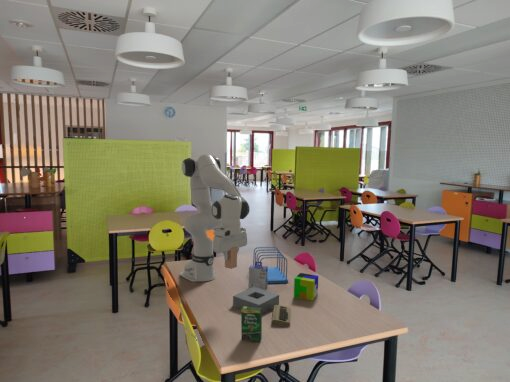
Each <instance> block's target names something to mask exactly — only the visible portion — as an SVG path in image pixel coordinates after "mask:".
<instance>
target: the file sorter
mask: <svg viewBox="0 0 510 382" xmlns="http://www.w3.org/2000/svg"><path fill="white" fill-rule="evenodd" d="M257 249H258V250H257ZM257 252H258V253H257ZM253 255H254V257H253V261H252V263H253V266H255V264H256V262H262V260H264V259H276V266H268V279H267V284H288V283H289V279H288V259H287V258H286V257H285V255H283V253H282V252H281V251H280V250H279V249H278V247H276V246H261V247H260V246H258V247H257V246H256V247H255V248H254V249H253ZM263 256H264V257H263ZM265 256H266V257H265ZM261 257H262V258H261ZM260 258H261V259H260ZM257 265H261V264H260V263H257ZM285 266H286V267H285Z"/></svg>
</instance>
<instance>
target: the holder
mask: <svg viewBox="0 0 510 382" xmlns="http://www.w3.org/2000/svg"><path fill="white" fill-rule="evenodd" d="M274 305H280V294H278V293H275V292H272V291H268V290H267V289H266V290H263V289H259V288H256V287H252V288H250V289H245V290H244V291H241V292H239V293H236V294H234V295H233V296H232V307H235V308H238V309H240V310H241V309H242V307H243V306H245V307H254V308H262V315H263V314H264V313H266V312H268V311H270V310H272V309H273V308H274Z"/></svg>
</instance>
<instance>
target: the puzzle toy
mask: <svg viewBox="0 0 510 382" xmlns="http://www.w3.org/2000/svg"><path fill="white" fill-rule="evenodd" d="M293 281H294V282H293V298H298V299H303V300H308V301H314V300H315V298H316V297H317V295H318V293H319V275H316V274H309V273H303V272H299V274H297V276H295V277H294V279H293Z"/></svg>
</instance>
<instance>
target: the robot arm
mask: <svg viewBox="0 0 510 382" xmlns="http://www.w3.org/2000/svg"><path fill="white" fill-rule="evenodd" d="M221 166H222V164H221V160H220V159H219V157H218V156H213V155H211V154H208V153H204V154H201V155H200V156H196V157H188V158H185V159H183V160H182V163H181V171H182V174H183V175H184V176H185V177H186V178H187V177H188V178H189V187H190V189H189V190H190V197H191V202H192V203H191V204H192V205H194V206H195V207H197V209H198V210H199V213H191V214H189V215H187V216H185V218H184V220H183V227H184V230H185V231H186V232H187V233H189V234H190V236H191V238H192V241H193V253H194V254H193V253H192V254H191V255H190V257H191V259H190V261H188V262H187V263H186V264H185V265H184V268H183V271H181V272H180V273H179V275H180V276H181V277H183V279H186V280H188V281H190V282H191V283H192V282H193V283H194V282H209V281H212V280H215V279H216V271H215V264H214V263H215V262H214V261H215V256H214V255H215V254H214V253H216V254H221V253H222V254H223V256H224V257H223V258H224V261H225V260H229V256H228V254H227V253H228V251H229V250H231V248H232V247H235V246H237V254H238V253H239V250H240V248H242V247H246V246H247V245H248V234H247V229H246V228H245V227H244V226H241V224H242V223H241V220H244V219H246V218H247V217H248V215H249V213H250V205H249V202H248V201H247V200H246V199H245V198H244V197H243V195H242V194H241V192H240V191H239V189H238V188H237V187H236V185H235V183H234V182H233V180H232V179H231V178H230V177H228V176H227V175H226V174H225V173H223V172H222V170H221ZM210 189H217V190H220V191H223V192H224V193H226V194H224V195H223V196H222V198H221V199H219V200H216V201H214V203H213V202H212V196H211V190H210ZM212 230H213V233H212V234H213V239H211V238H210V237H208V234H207V232H208V231H212Z"/></svg>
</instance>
